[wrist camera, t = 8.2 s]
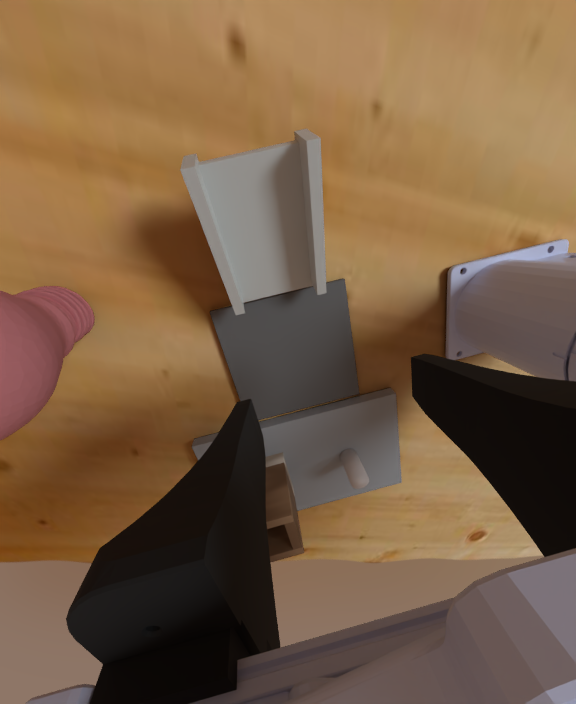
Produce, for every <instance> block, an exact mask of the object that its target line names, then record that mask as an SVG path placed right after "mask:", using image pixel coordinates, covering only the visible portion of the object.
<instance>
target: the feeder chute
mask: <svg viewBox="0 0 576 704" xmlns="http://www.w3.org/2000/svg"><path fill="white" fill-rule="evenodd" d="M294 135H295V140H294V141H290V142H286V143H281V144H277V145H273V146H268V147H264V148H259V149H255V150H251V151H246V152H242V153H237V154H233V155H229V156H224V157H220V158H215V159H211V160H207V161H202V162H199V161H198V158H197V155H196V154H192V155H188V156H184V157H183V161H182V165H181V169H180V170H181V173H182V175H183V178H184V181H185V183H186V186H187V189H188V191H189V194H190V196H191V199H192V202H193V204H194V207H195V210H196V212H197V215H198V217H199V220H200V223H201V225H202V228H203V231H204V233H205V236H206V238H207V241H208V244H209V246H210V249H211V252H212V254H213V257H214V259H215V262H216V265H217V267H218V270H219V273H220V275H221V278H222V280H223V283H224V286H225V288H226V291H227V294H228V296H229V299H230V301H231V304H232V307H233V309H234V312H235V315H240V314H244V313H245V310H244V302H248V301H252V300H256V299H260V298H264V297H268V296H272V295H277V294H281V293H285V292H289V291H293V290H297V289H301V288H305V287H309V286H313V287H314V289H315V291H316V293H317V295H321V294H325V293H327V292H326V267H325V241H324V216H323V190H322V165H321V139H320V137H318V136H317V135H315V134H314V133H312V132H311V131H309V130H308V129H303V130H298V131H294Z"/></svg>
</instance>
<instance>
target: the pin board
mask: <svg viewBox="0 0 576 704" xmlns="http://www.w3.org/2000/svg"><path fill="white" fill-rule="evenodd" d="M259 424H260V427H261V431H262V434H263V439H264V446H265V455H266V457H267V456H271V455H274V454H278V453H282V452H283V455H284V459H285V462H286V465H287V468H288V472H289V475H290V478H291V481H292V485H293V489H294V495H295V501H296V507H297V511H299V510H302V509H306V508H310V507H313V506H317V505H321V504H324V503H328V502H332V501H335V500H339V499H343V498H346V497H350V496H354V495H357V494H361V493H365V492H368V491H372V490H376V489H379V488H383V487H387V486H390V485H394V484H398V483H401V466H400V450H399V434H398V418H397V402H396V393H395V392H394V391H393V390H392V389H391V388H387V389H384V390H380V391H376V392H372V393H368V394H364V395H361V396H357V397H353V398H349V399H345V400H341V401H338V402H334V403H330V404H326V405H322V406H318V407H315V408H311V409H307V410H303V411H299V412H295V413H291V414H288V415H284V416H280V417H276V418H272V419H268V420H265V421H261V422H259ZM217 435H218V433H215V434H211V435H207V436H203V437H199V438H196V439H194V441H193V444H192V449H193V451H194V453H195V455H196V457H197V459H198V460H199V459H200V458H201V457H202V456H203V454H204V453H205V452H206V450H207V449H208V448H209V446H210V445H211V443H212V442H213V441H214V439H215V438H216V436H217Z"/></svg>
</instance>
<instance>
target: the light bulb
mask: <svg viewBox="0 0 576 704" xmlns="http://www.w3.org/2000/svg"><path fill="white" fill-rule="evenodd" d="M93 325H94V314H93V311H92V309H91V307H90V306H89V304H88V303H87V302H86V301H85V300H84V299H83V298H82V297H81V296H80V295H78V294H77V293H75V292H73V291H71V290H69V289H66V288H63V287H58V286H44V287H38V288H34V289H31V290H27V291H23V292H21V293H18V294H17V295H11V294H8V293H5V292H3V291H0V440H2V439H4V438H6V437H8V436H9V435H11V434H13V433H14V432H16V431H17V430H18V429H20V428H21V427H23V426H24V425H25V424H27V423H28V422H29V421H30V420H31V419H32V418H33V417H35V416H36V415H37V414H38V413H39V412H40V411H41V409H42V408H43V407H44V406H45V404H46V403H47V402H48V400H49V398H50V397H51V395H52V394H53V392H54V390H55V387H56V384H57V381H58V378H59V374H60V371H61V368H62V364H63V358H64V357H65V356H67V355H68V354H69V352H70V351H71V350H72V348H73V345H74V343H75V342H77V341H79V340H80V339H81V338H82V337H83V336H84V335H85V334H87V333H88V332H89V331H90V330H91V329H92V327H93Z"/></svg>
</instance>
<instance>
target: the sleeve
mask: <svg viewBox="0 0 576 704" xmlns="http://www.w3.org/2000/svg"><path fill="white" fill-rule="evenodd" d="M266 523H267V534H268V545H269V554H270V562H274V561H277V560H281V559H284V558H288V557H291V556H295V555H298V554H302V553H304V548H303V543H302V537H301V531H300V525H299V519H298V513H297V507H296V501H295V495H294V489H293V485H292V481H291V478H290V475H289V472H288V468H287V465H286V462H285V459H284V455H283V452H282V453H278V454H274V455H271V456H267V457H266Z"/></svg>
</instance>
